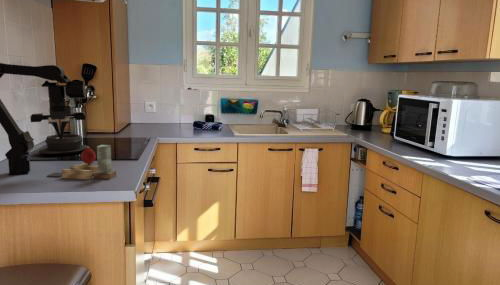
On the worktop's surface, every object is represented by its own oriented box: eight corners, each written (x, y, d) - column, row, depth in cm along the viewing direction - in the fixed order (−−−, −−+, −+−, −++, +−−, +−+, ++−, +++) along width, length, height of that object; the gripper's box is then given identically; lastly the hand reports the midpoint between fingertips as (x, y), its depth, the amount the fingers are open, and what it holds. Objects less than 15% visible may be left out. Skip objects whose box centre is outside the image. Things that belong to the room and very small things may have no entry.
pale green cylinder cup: (93, 178, 143) (92, 146, 141) (99, 175, 147) (98, 144, 145) (110, 179, 142) (109, 147, 140) (116, 176, 147) (115, 145, 145)
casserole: (57, 159, 175) (56, 140, 174) (28, 155, 182) (27, 137, 181) (98, 150, 198) (97, 134, 197) (71, 147, 205) (70, 131, 204)
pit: (46, 176, 143) (46, 175, 143) (54, 173, 148) (54, 172, 148) (59, 177, 143) (59, 176, 143) (67, 174, 148) (67, 172, 148)
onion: (91, 162, 169) (91, 144, 167) (98, 164, 165) (98, 146, 164) (79, 164, 164) (78, 146, 163) (85, 167, 160) (84, 148, 159)
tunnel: (62, 177, 142) (61, 167, 141) (74, 172, 150) (74, 162, 149) (90, 179, 141) (90, 168, 140) (101, 174, 149) (101, 164, 148)
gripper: (27, 100, 136) (31, 143, 138) (84, 98, 143) (87, 140, 146) (30, 99, 146) (34, 139, 148) (83, 97, 153) (86, 136, 156)
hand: (60, 139), depth 149 cm, fingers closed
